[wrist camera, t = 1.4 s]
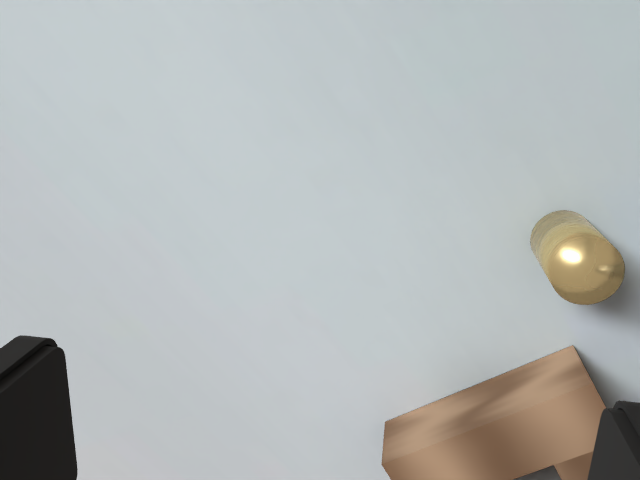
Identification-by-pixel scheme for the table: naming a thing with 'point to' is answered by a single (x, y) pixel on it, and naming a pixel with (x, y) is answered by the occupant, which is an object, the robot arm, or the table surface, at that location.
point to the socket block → (502, 427)
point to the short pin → (577, 258)
